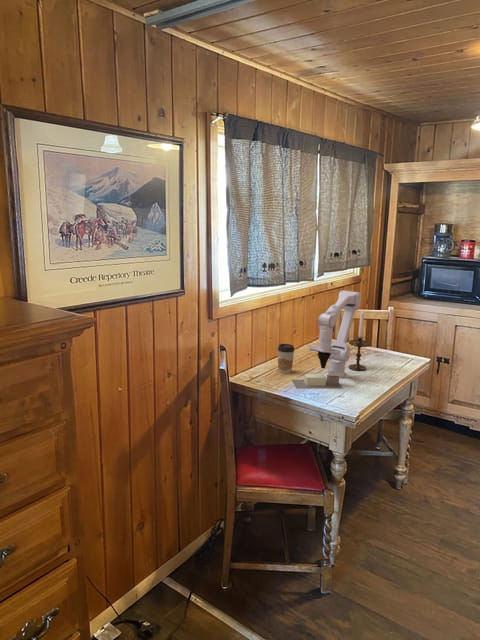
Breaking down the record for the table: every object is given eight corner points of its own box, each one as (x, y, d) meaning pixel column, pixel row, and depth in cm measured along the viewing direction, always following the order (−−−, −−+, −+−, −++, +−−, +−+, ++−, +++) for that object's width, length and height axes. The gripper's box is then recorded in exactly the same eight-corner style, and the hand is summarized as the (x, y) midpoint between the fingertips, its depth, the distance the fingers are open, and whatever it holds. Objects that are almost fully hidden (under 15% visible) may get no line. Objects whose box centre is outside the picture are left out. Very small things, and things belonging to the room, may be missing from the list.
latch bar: (328, 374, 229) (328, 371, 229) (343, 374, 230) (343, 371, 229) (329, 375, 227) (329, 372, 227) (344, 376, 228) (344, 372, 228)
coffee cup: (274, 375, 243) (275, 346, 240) (279, 370, 251) (280, 342, 247) (290, 378, 240) (292, 348, 237) (294, 373, 248) (296, 344, 244)
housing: (291, 382, 234) (291, 371, 233) (335, 382, 236) (336, 371, 235) (296, 391, 222) (296, 380, 221) (343, 391, 224) (344, 380, 223)
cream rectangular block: (304, 382, 230) (304, 374, 230) (322, 382, 231) (323, 374, 230) (306, 385, 226) (307, 377, 225) (325, 385, 226) (326, 377, 226)
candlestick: (352, 372, 253) (358, 305, 245) (343, 365, 263) (349, 301, 255) (371, 371, 255) (377, 305, 247) (362, 365, 265) (368, 301, 258)
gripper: (307, 339, 224) (305, 367, 227) (338, 343, 217) (335, 372, 220) (312, 335, 230) (310, 363, 233) (342, 340, 224) (340, 368, 226)
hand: (323, 367), depth 227 cm, fingers closed
